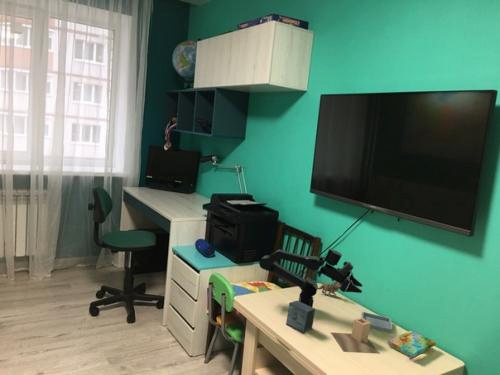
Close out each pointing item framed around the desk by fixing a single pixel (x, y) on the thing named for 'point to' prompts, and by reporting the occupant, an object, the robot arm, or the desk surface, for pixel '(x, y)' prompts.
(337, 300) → the desk surface
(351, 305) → the desk surface
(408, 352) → the puzzle game
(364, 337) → the wooden pen holder
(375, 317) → the grey tray
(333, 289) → the dinosaur figurine
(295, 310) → the small box
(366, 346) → the walnut stake base
